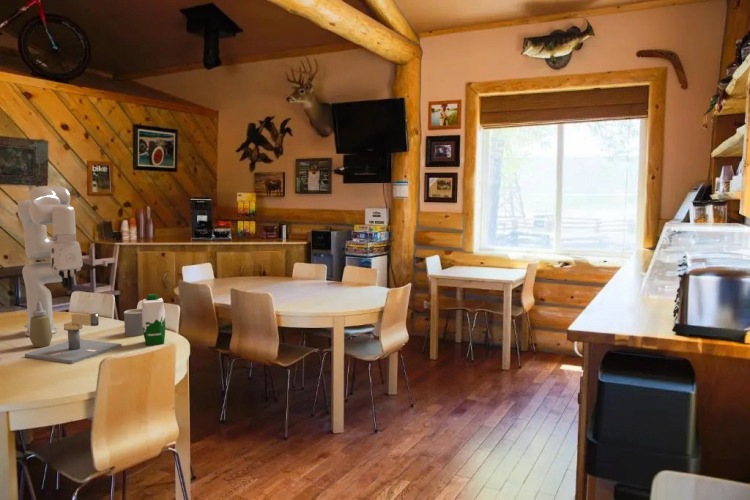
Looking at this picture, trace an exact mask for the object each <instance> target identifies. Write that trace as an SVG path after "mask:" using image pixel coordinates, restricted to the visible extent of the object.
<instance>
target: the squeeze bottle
mask: <svg viewBox="0 0 750 500" xmlns="http://www.w3.org/2000/svg"><path fill="white" fill-rule="evenodd" d="M52 338H53V334H52V331H51V325H50V320H49V316H47V315H46V310H43V308H42V305H41V302H37V307H36V311H34V312H33V317H32V318H31V322H30V336H29V340H30V342H31V345H32V346H33V348H42V347H43V348H45V347H49V346H51V345H50V344H51V342H52Z"/></svg>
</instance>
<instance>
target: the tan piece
mask: <svg viewBox="0 0 750 500" xmlns="http://www.w3.org/2000/svg"><path fill="white" fill-rule="evenodd" d="M99 321H100V320H99V313H98V312H96V313H82V312H81V313H78V312H74V313H72V314H71V321H70V322H66V323H63V330H64V331H67V332H68V331H73V330H79V331H80V330H82V329H83V326H89V327H96V326H99V325H100V323H99Z"/></svg>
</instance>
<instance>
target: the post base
mask: <svg viewBox="0 0 750 500" xmlns="http://www.w3.org/2000/svg"><path fill="white" fill-rule="evenodd" d="M67 339H68V340H67V341H64V342H61V343H57V344H53V345H49V346H45V347H43V348H40V349H36V350H33V351H30V352H27V353H24V358H31V359H37V360H43V361H44V360H45V361H51V362H59V363H64V364H65V363H66V364H75V363H79V362H81V361H84V360H88V359H90V358H93V357H95V356H96V357H97V356H98V355H99V356H100V355H102V354H105V353H108V352H111V351H113V349H114V350H117V349H119V347H120V348H122V345H123V344H122V343H118V342H117V343H116V342H109V341H100V340H92V339H82V338H80V329H79V330H73V331H67ZM116 348H117V349H116ZM110 350H111V351H110ZM107 351H108V352H107Z"/></svg>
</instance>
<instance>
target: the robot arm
mask: <svg viewBox="0 0 750 500" xmlns="http://www.w3.org/2000/svg"><path fill="white" fill-rule="evenodd" d="M16 208H17V209H16V210H17V215H18V218H19V220H20V223H21V224H22V227H23V233H24V237H23V238H24V251H25V255H26V257H27V258H28V259H29V260H48V259H50V261H38V262H30V263H27V264H25V265H24V266H23V268H22V278H23V282H24V286H25V294H26V307H27V322H26V324H24V325H23V328H26V329H27V330H26V331H24V336H27V337H30V322H31V318H32V317H33V312H34V311H36V307H37V302H41V305H42V308H43V310H46V315H47V316H49V320H50V325H51V331H52V335H53V334H56V333H57V332H58V328H57V327H54V314H53V298H52V297H53V296H52V292H51V290H50V289H49V288H47V286H45V284H51V283H52V284H53V283H60V282H61V283H62V284H61V285H62V287H63V288H64V289H71V288H73V277H74V276H75V274H76V273H77V272H80V271H81V270H82V267H83V254H82V249H81V245H80V243H79V241H77V229H76V225H77V224H76V212H75V208H74V206H71V193H70V191H69V189H68V188H66V187H64V186H37V187H34V188H33V189H32V190H30V193H29V199H25V200H21V201H19V202H18V203H17V206H16ZM50 225H51V226H52V236H48V234H47V233H48V230H47V228H48V227H47V226H50Z"/></svg>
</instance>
